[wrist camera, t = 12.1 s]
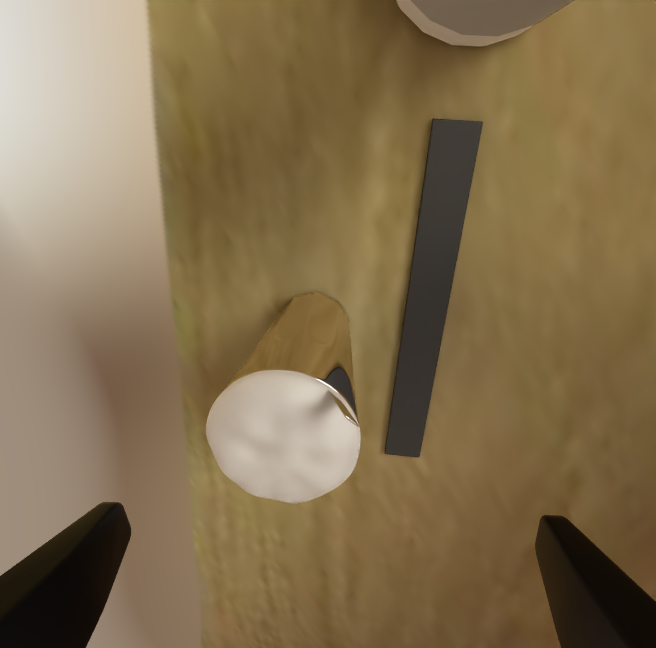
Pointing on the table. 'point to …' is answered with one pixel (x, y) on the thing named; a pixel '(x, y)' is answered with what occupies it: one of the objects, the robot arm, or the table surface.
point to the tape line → (431, 277)
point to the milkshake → (291, 407)
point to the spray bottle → (477, 18)
